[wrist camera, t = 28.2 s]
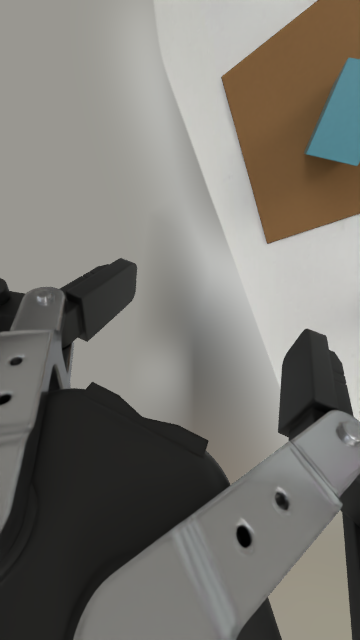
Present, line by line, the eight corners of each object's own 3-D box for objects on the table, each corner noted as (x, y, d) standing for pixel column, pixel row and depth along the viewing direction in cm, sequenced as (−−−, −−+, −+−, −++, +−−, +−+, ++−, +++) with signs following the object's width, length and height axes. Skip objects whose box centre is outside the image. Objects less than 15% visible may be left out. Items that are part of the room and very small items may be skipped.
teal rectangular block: (303, 153, 27) (305, 154, 21) (334, 81, 23) (348, 57, 17) (343, 163, 26) (357, 166, 20) (382, 89, 22) (414, 67, 16)
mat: (222, 77, 26) (221, 76, 26) (494, -138, 15) (498, -144, 15) (267, 242, 34) (267, 243, 34) (468, 176, 23) (470, 177, 23)
